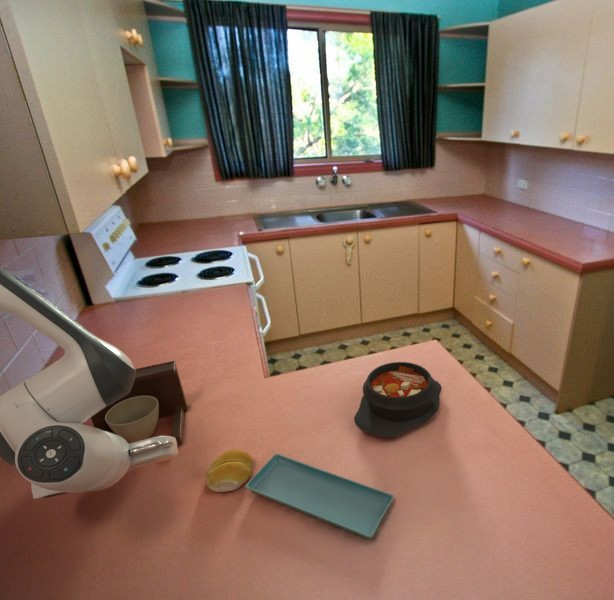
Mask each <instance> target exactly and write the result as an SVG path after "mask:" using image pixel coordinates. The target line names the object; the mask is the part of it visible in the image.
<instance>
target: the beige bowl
mask: <svg viewBox="0 0 614 600" xmlns="http://www.w3.org/2000/svg"><path fill="white" fill-rule="evenodd" d="M158 415H159V404H158V400H157V399H156V398H155V397H152V396H137V397H132V398H129V399H126V400H124V401H121V402H119V403H118V404H116V405H114V406H113V407H112V408H111V409H110V410H109V411H108V412H107V413H106V415H105V421H106V422H107V424H108V426H109V427H110V428H111V431H112V433H113V434H116V435H118V436H121V437H122V438H124V439H125V440H126V441H127V443H129V444H130V443H133V442H137V441H141V440H145V439H149V438H151V436H152V435H153V434H154V432H155V430H156V427H157V424H158V420H159V418H158Z"/></svg>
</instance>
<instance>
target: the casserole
mask: <svg viewBox="0 0 614 600" xmlns="http://www.w3.org/2000/svg"><path fill="white" fill-rule="evenodd" d="M441 392H442V385H441V383H440V382H439V381H437V380H436V379H434V378H433V377H432V375H431V373H430V372H429V371H428V370H427V368H425V367H423V366H421V365H419V364H416V363H413V362H406V361H394V362H387V363H385V364H381V365H380V366H377V367H375V368H374V369H372V370H371V371H370V372H369V374H368V375H367V378H366V379H365V381H364V382H363V385H362V394H363V396H362V397H361V400H360V403H359V407H358V409H357V411H356V413H355V415H354V417H353V421H354V424H355V425H356V426H357V427H358V429H360V430H361V431H363V432H364V433H366V434H369V435H371V436H374V437H379V438H390V439H391V438H395V437H398V436H401V435H402V434H404V433H406V432H407V431H409V430H411V429H413V428H416V427H418V426H421V425H423V424H425V423H427V422H429V421H430V420H432V418H434V416H436V415H437V413H438V411H439V408H440V404H441V403H440V395H441Z"/></svg>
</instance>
